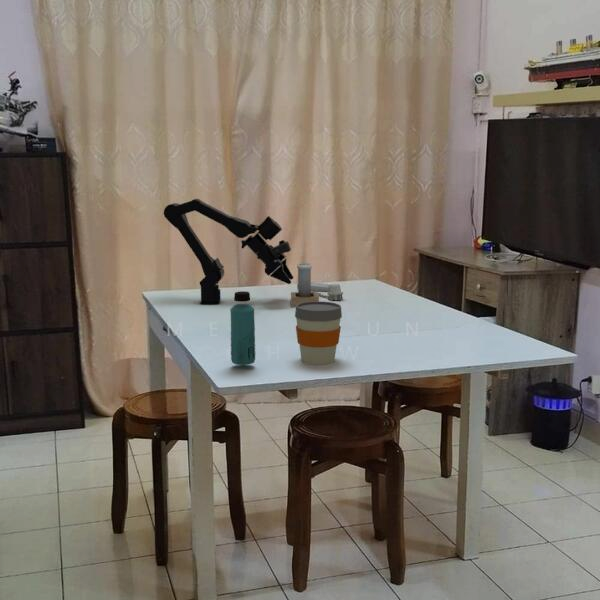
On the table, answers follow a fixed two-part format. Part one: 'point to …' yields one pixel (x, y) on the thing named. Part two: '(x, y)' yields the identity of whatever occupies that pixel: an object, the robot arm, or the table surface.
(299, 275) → the tube
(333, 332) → the reusable coffee cup
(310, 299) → the socket flange
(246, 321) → the beverage bottle
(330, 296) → the white elongated device
